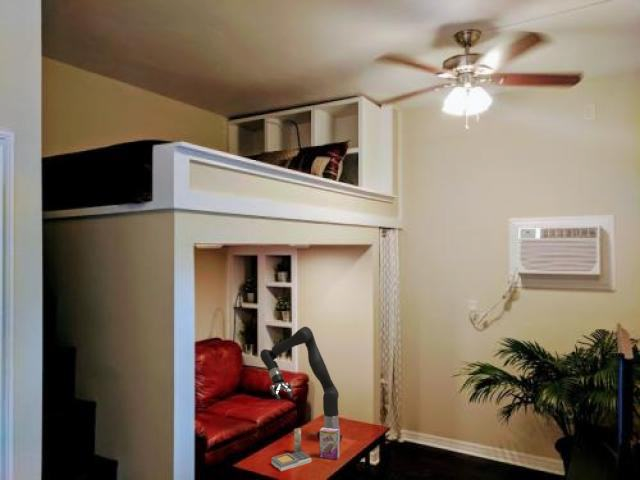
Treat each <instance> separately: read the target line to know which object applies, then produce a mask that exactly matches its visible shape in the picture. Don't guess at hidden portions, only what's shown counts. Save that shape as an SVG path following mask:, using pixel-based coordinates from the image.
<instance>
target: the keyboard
mask: <svg viewBox="0 0 640 480" xmlns="http://www.w3.org/2000/svg"><path fill="white" fill-rule="evenodd" d="M283 456H289V457H290V458H291V459H293V460H292V461H289V462H286V463H280V462H279V461H278V460H276V458H280V457H283ZM309 463H312V458H311V456H310V455H309V454H307V453H306V452H304V451H303V450H302V451H300V452H297V453H294V454H293V453H289V452H288V453H284V454H280V455H275V456H273V457H271V465H272V466H274V467H275V468H276V469H277V468H278V469H277V470H279V471H280V472H283V471H286V470H290V469H293V468H296V467H300V466H303V465H306V464H309Z"/></svg>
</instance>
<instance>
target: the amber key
mask: <svg viewBox="0 0 640 480" xmlns="http://www.w3.org/2000/svg"><path fill="white" fill-rule="evenodd" d="M276 460H278V461H279V462H280V463H286V462H289V461H292V460H293V459H291V458H290V457H289V456H283V457H280V458H276Z"/></svg>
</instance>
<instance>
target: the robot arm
mask: <svg viewBox="0 0 640 480" xmlns="http://www.w3.org/2000/svg"><path fill="white" fill-rule="evenodd" d="M303 344H305V347H306V350H307V359H308V364H309V367H310V369H311V371H312V373H313V375H314V376H315V378H316V379H317V380H318V381H319V383H320V385H321V388H322V390H323V398H322V405H323V407H322V408H323V428H331V429H339V442H340V441H341V428H340V427H341V426H340V425H339V423H340V422H339V403H338V402H339V401H338V400H339V391H338V389H337V387H336V386H335V384H334V382H333V380H332V378H331V375H330V372H329V370H328V368H327V365H326V363H325V360H324V358H323V357H322V354H321V352H320V350H319V348H318V346H317V342H316V338H315V336H314V333H313V331H312V330H311V328H310V327H308V326H302V327H301V328H300V329H298V330H297V331H296V332H295V333H293V334H292V335H291V336H289V338H287V339H284V340H282V341H280V342H278V343H275V344H274V345H273V346H272V347H271V349H267V348H266V349H265V348H264V349H262V350H261V351H260V356H259V357H260V360H261V361H262V363H263V364H264V366H265V367H266V369H267V371H268V374H269V377H270V378H269V379H270V380H271V383H272V384H271V385H270V386H269V391H270V394H271V395H272V396H274V397H275V398H276V400H277V401H278V402H279V401H280V400H281V396H280V394H279V392H286V393H287V394H288V397H289V398H290V399H292V398H293V393H292V392H293V390H294V387H293V386H292V384H291V382H290V381H288V382H285V378H284V376H283V374H282V371H281V370H280V368H279V365H278V362H277V361H275V360H276V359H277V358H278V357H279V355H280V356H281V355H282V354H284V353H285V352H287V351H289V350H291V349H292V348H294V347H296V346H300V345H303Z"/></svg>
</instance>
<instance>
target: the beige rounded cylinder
mask: <svg viewBox="0 0 640 480" xmlns="http://www.w3.org/2000/svg"><path fill="white" fill-rule="evenodd" d="M293 433H294V434H293V436H294V437H293V439H294V440H293V441H294V444H293V445H294V448H293V451H292V454H294V453H297V452H300V451H303V450H302V429H301V428H300V427H297V428H294V429H293Z"/></svg>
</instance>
